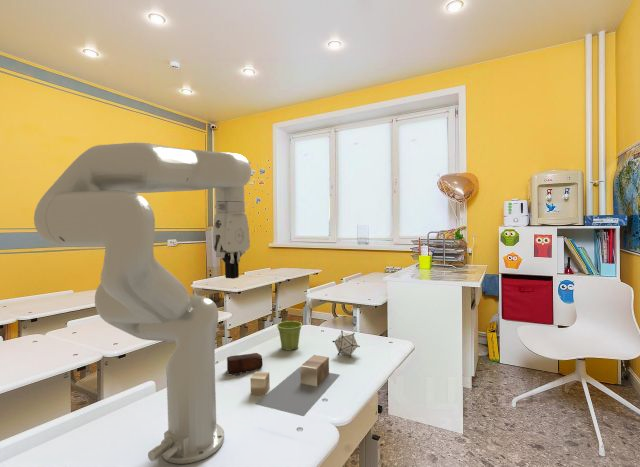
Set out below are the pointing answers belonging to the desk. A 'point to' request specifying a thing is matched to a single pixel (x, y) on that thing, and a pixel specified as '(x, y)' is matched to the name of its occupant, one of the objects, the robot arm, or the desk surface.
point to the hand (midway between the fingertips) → (232, 277)
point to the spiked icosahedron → (346, 343)
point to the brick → (244, 363)
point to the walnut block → (314, 370)
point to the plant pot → (289, 334)
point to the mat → (296, 394)
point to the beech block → (260, 383)
